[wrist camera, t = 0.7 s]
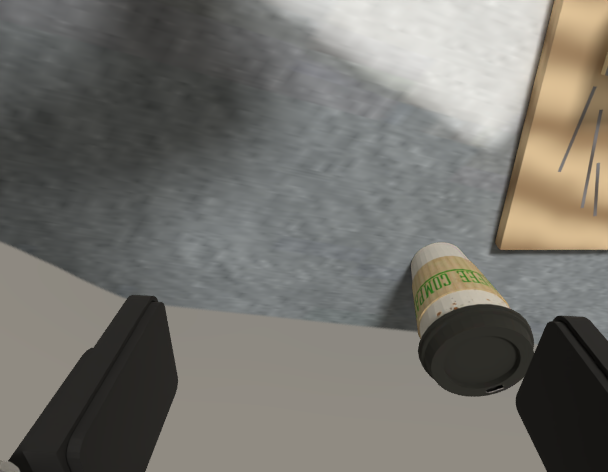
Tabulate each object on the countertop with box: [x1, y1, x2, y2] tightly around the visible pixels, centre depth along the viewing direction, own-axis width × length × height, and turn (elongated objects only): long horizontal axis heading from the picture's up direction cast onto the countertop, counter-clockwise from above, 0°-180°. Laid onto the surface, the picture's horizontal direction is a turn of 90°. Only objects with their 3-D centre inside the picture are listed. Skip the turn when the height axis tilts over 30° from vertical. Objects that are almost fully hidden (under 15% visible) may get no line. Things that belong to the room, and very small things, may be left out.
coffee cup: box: [411, 242, 534, 396], centre depth 41 cm, size 10×10×15 cm
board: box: [495, 0, 608, 250], centre depth 38 cm, size 26×14×2 cm, turn 1°
